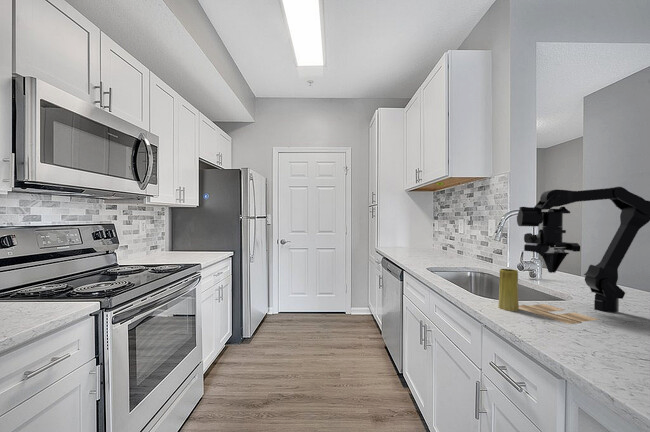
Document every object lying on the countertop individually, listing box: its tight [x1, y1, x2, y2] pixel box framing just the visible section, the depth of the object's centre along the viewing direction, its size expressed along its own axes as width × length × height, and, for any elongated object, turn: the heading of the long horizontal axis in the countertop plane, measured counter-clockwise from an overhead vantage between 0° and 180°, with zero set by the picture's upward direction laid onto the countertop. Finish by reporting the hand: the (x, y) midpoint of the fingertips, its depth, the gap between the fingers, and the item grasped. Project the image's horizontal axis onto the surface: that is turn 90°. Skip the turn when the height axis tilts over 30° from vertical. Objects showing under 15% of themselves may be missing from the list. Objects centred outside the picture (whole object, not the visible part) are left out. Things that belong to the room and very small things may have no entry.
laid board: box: [519, 304, 583, 325], centre depth 105 cm, size 5×20×2 cm, turn 17°
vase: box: [498, 268, 520, 312], centre depth 110 cm, size 6×6×14 cm
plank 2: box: [557, 312, 600, 323], centre depth 102 cm, size 8×8×1 cm
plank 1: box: [529, 303, 565, 313], centre depth 112 cm, size 8×8×1 cm
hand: (551, 272), depth 114 cm, fingers closed
